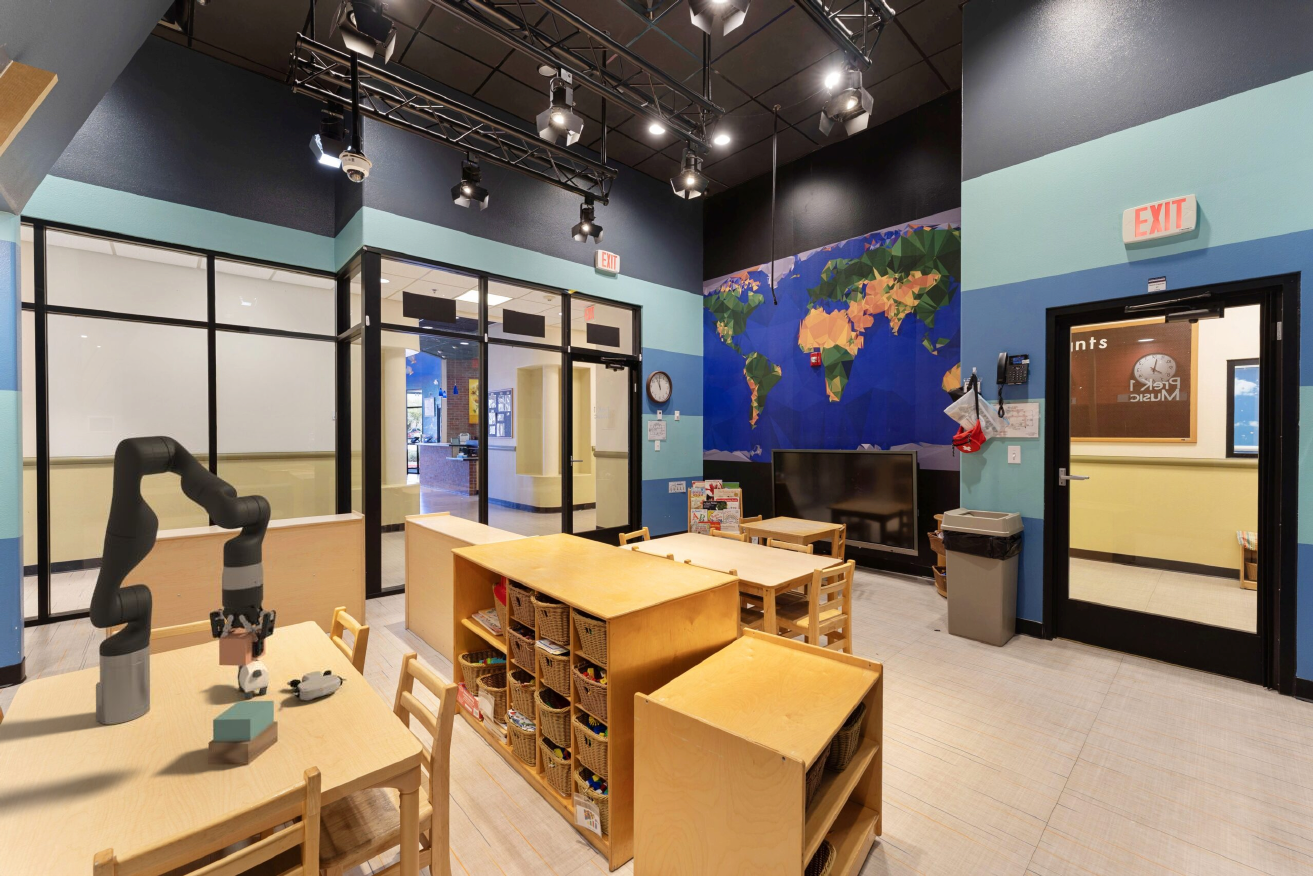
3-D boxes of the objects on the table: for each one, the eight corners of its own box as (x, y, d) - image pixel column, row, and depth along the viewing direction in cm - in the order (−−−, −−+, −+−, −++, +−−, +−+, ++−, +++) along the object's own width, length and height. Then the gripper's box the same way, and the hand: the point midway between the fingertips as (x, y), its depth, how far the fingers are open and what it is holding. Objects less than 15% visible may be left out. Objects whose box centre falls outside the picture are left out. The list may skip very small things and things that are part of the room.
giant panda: (270, 695, 150) (270, 661, 150) (245, 702, 146) (245, 667, 146) (255, 678, 160) (255, 646, 160) (232, 685, 156) (231, 652, 155)
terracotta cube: (219, 665, 121) (219, 638, 121) (240, 653, 127) (240, 628, 127) (245, 665, 121) (245, 639, 121) (265, 654, 127) (265, 629, 127)
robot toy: (284, 693, 153) (296, 709, 143) (284, 677, 154) (296, 692, 143) (333, 679, 162) (348, 693, 151) (332, 664, 162) (347, 677, 152)
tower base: (208, 764, 120) (208, 742, 120) (240, 741, 129) (240, 720, 129) (248, 766, 120) (248, 743, 120) (277, 742, 129) (277, 721, 129)
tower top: (213, 741, 120) (213, 719, 120) (238, 722, 128) (238, 701, 128) (250, 741, 121) (250, 719, 121) (273, 721, 129) (273, 700, 129)
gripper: (197, 587, 120) (198, 662, 120) (261, 588, 120) (261, 663, 120) (225, 578, 127) (225, 648, 128) (285, 579, 127) (285, 649, 127)
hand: (243, 655), depth 124 cm, fingers closed on terracotta cube, 6 cm apart
